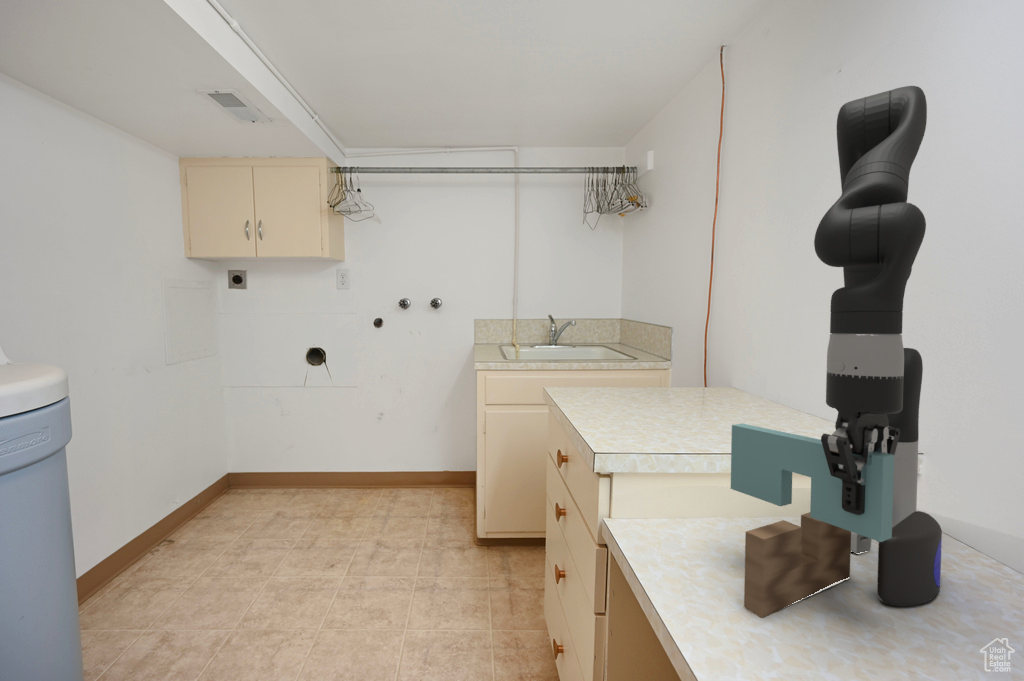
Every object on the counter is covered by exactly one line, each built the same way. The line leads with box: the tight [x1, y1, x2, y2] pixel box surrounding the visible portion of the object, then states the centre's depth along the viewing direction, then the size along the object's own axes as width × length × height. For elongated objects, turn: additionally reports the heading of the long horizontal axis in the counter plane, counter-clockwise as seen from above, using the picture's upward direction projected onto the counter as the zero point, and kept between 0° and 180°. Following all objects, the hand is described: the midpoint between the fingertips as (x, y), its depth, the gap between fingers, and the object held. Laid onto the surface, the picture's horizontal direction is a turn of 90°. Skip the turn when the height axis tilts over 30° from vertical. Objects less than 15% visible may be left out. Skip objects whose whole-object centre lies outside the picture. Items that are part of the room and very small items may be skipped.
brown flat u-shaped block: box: [743, 511, 852, 619], centre depth 63 cm, size 20×2×10 cm, turn 117°
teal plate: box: [730, 423, 894, 543], centre depth 63 cm, size 2×20×10 cm, turn 27°
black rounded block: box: [876, 510, 943, 607], centre depth 64 cm, size 16×5×9 cm, turn 125°
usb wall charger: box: [851, 532, 872, 553], centre depth 78 cm, size 4×7×4 cm, turn 24°
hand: (859, 509), depth 57 cm, fingers closed on teal plate, 2 cm apart
